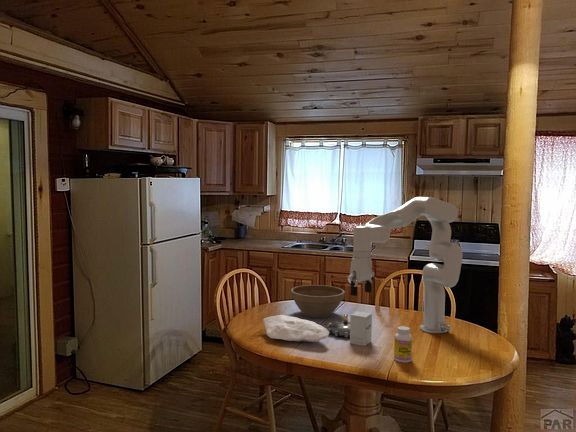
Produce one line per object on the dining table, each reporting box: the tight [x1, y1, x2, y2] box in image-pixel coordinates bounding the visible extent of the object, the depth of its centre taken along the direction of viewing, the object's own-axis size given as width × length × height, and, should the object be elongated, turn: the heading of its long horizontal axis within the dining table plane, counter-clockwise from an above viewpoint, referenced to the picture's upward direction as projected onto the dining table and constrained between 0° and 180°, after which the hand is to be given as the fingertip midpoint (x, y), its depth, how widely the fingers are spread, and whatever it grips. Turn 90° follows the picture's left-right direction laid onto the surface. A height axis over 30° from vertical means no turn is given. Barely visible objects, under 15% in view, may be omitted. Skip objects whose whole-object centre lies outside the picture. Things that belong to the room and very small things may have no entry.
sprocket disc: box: [325, 313, 350, 338], centre depth 218 cm, size 18×18×6 cm
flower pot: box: [290, 284, 346, 319], centre depth 248 cm, size 28×28×13 cm
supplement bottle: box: [393, 325, 413, 364], centre depth 185 cm, size 7×7×13 cm
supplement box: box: [349, 311, 373, 347], centre depth 205 cm, size 7×7×13 cm
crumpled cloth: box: [262, 314, 329, 343], centre depth 211 cm, size 24×35×9 cm
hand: (361, 293), depth 204 cm, fingers open, 9 cm apart
